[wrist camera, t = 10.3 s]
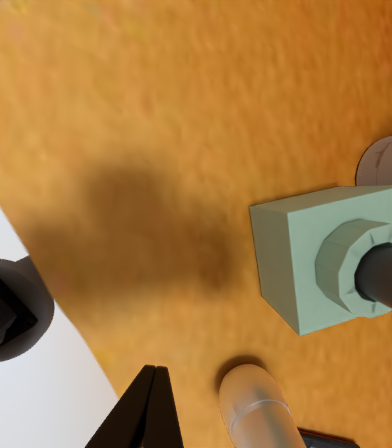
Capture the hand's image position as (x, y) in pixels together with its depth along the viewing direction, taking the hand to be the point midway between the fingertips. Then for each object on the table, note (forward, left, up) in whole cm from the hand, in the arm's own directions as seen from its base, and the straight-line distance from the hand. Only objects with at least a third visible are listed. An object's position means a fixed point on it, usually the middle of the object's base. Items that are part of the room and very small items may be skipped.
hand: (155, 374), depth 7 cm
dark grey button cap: (+13, -6, -4) cm, 15 cm away
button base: (+13, -6, -12) cm, 19 cm away
